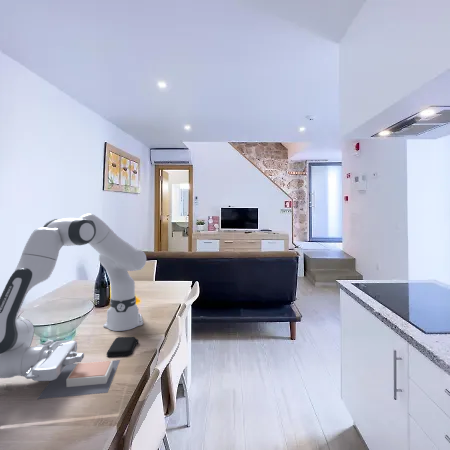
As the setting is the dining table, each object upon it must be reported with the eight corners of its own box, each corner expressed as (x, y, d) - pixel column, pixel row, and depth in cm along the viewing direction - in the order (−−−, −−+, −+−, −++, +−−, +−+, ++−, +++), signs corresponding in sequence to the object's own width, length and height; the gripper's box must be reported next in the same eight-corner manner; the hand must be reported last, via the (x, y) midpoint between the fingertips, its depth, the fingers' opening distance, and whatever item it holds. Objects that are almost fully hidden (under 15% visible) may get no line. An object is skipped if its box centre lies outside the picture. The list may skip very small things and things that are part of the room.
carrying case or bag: (133, 358, 113) (140, 341, 127) (133, 350, 113) (140, 334, 127) (105, 360, 112) (115, 342, 126) (105, 352, 111) (115, 336, 126)
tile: (76, 362, 102) (112, 360, 104) (77, 370, 103) (112, 367, 104) (66, 378, 93) (105, 375, 95) (66, 387, 93) (106, 383, 95)
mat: (63, 366, 106) (62, 364, 106) (120, 361, 110) (120, 360, 110) (37, 401, 87) (37, 399, 87) (107, 394, 90) (107, 392, 90)
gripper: (20, 368, 85) (71, 364, 88) (50, 338, 105) (91, 335, 108) (21, 389, 86) (71, 384, 88) (51, 355, 106) (91, 352, 108)
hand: (82, 357), depth 98 cm, fingers closed
